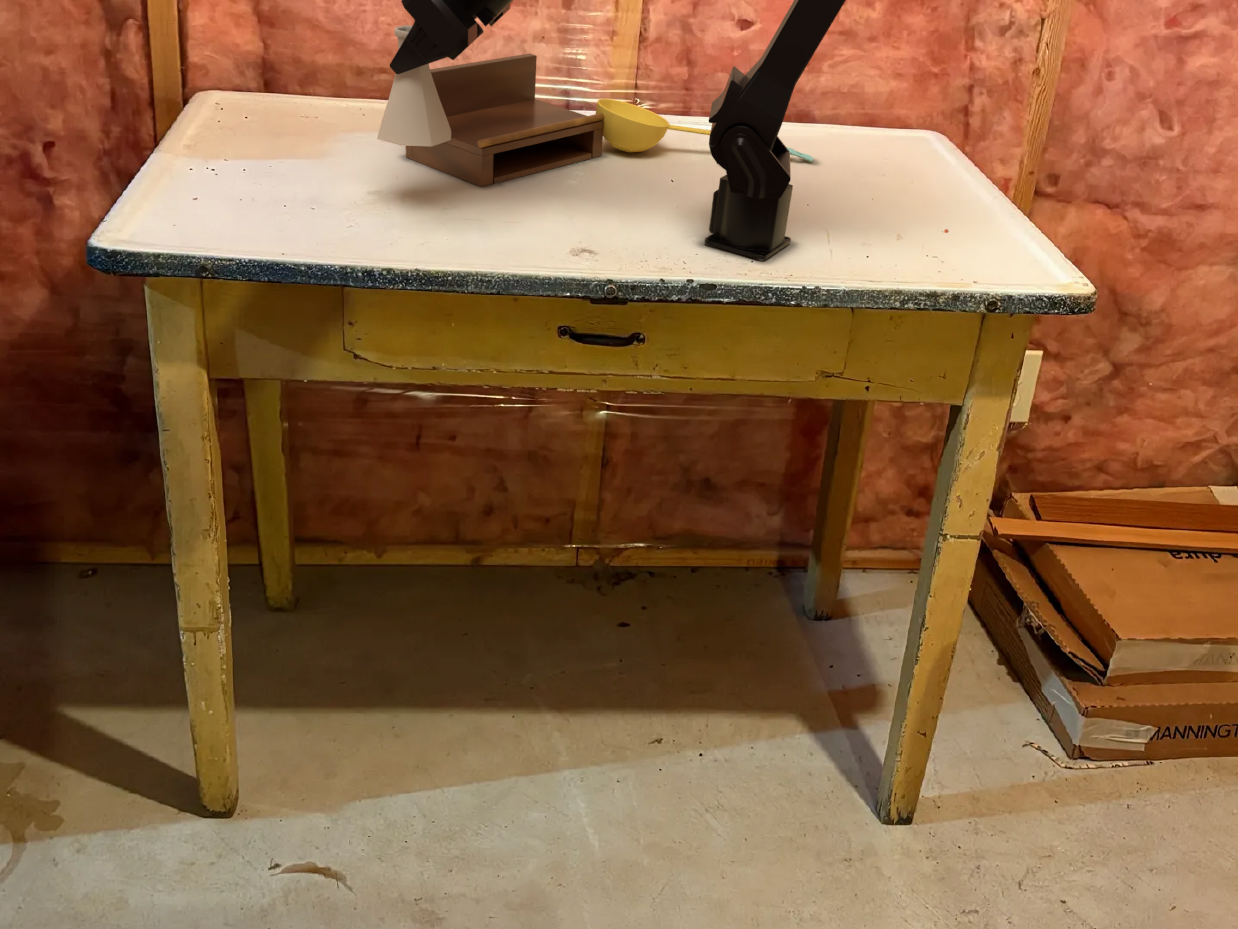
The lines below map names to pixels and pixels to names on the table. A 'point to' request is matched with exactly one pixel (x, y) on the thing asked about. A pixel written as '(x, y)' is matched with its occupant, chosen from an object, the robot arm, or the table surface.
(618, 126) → the ladle
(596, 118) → the spice rack
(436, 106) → the flask
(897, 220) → the table surface
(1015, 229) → the table surface
